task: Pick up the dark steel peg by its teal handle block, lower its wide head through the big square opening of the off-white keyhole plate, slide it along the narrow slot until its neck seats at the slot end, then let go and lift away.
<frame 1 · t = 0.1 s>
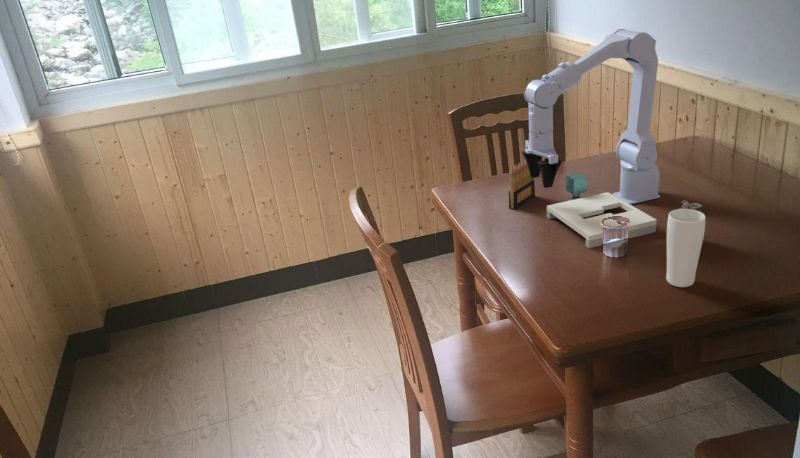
hand: (541, 182, 156), 10 cm above the table, tool pointing down, fingers open, 7 cm apart
peg: (576, 203, 166), on the table
keyhole plate: (598, 224, 154), on the table
ammunition clip: (522, 202, 171), on the table
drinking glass: (679, 282, 126), on the table
flask: (682, 245, 140), on the table
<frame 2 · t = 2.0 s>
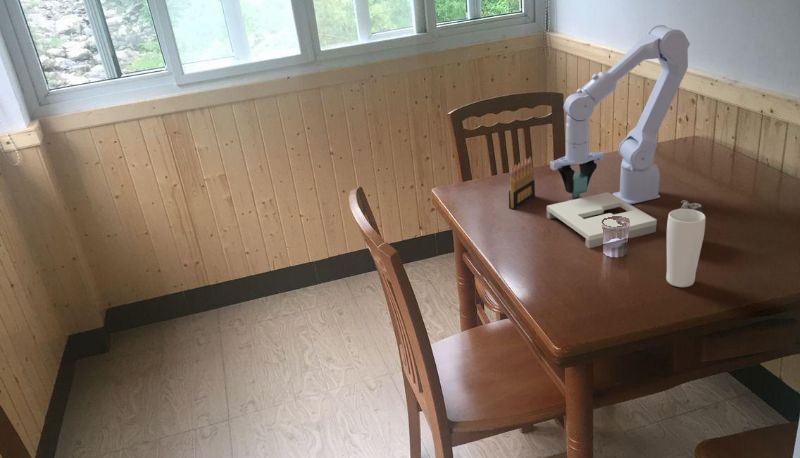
hand: (576, 189, 165), 4 cm above the table, tool pointing down, fingers closed on peg, 4 cm apart
peg: (576, 203, 166), on the table, touching gripper
everything else where it was.
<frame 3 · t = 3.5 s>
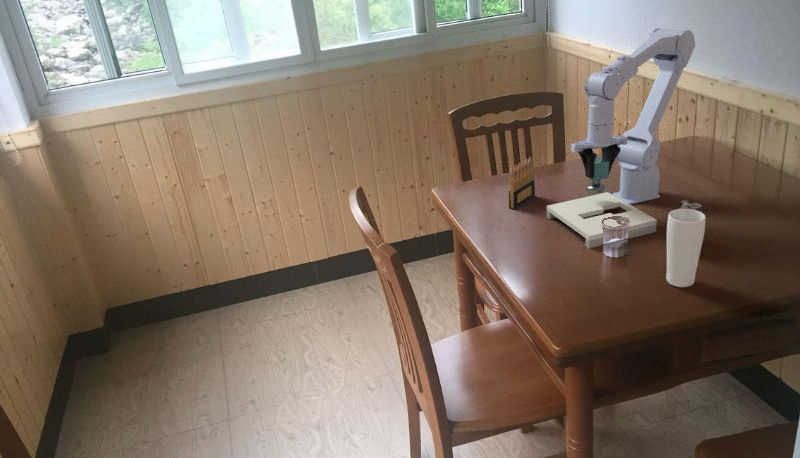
hand: (597, 175, 155), 10 cm above the table, tool pointing down, fingers closed on peg, 4 cm apart
peg: (595, 190, 157), point 6 cm above the table, touching gripper
everything else where it was.
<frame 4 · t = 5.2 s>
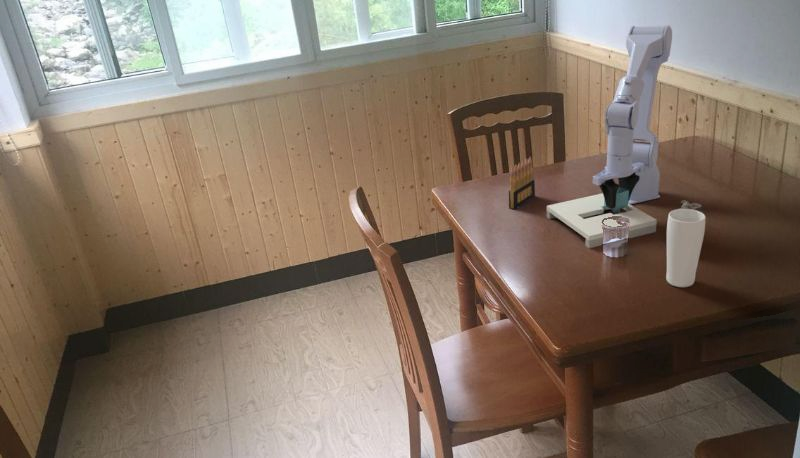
hand: (617, 204, 153), 4 cm above the table, tool pointing down, fingers closed on peg, 4 cm apart
peg: (615, 219, 155), on the table, touching gripper
everything else where it was.
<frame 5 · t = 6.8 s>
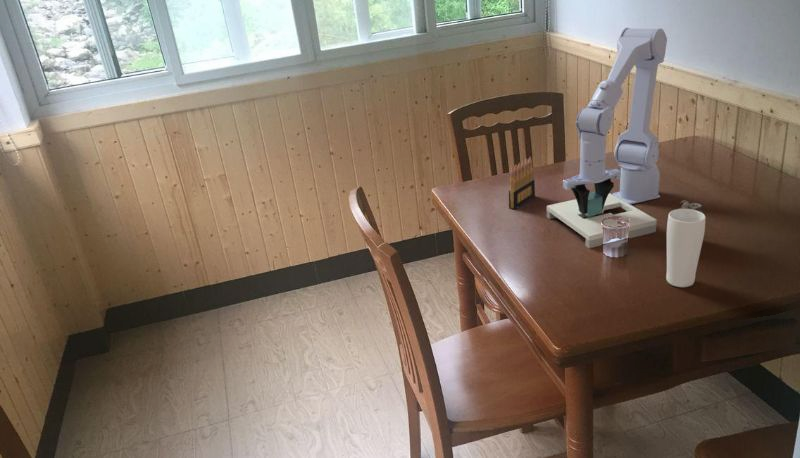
hand: (591, 210, 151), 4 cm above the table, tool pointing down, fingers closed on peg, 4 cm apart
peg: (589, 225, 153), on the table, touching gripper
everything else where it was.
when the fingers open (4 cm above the table, at t = 8.4 s): peg stays where it is, on the table.
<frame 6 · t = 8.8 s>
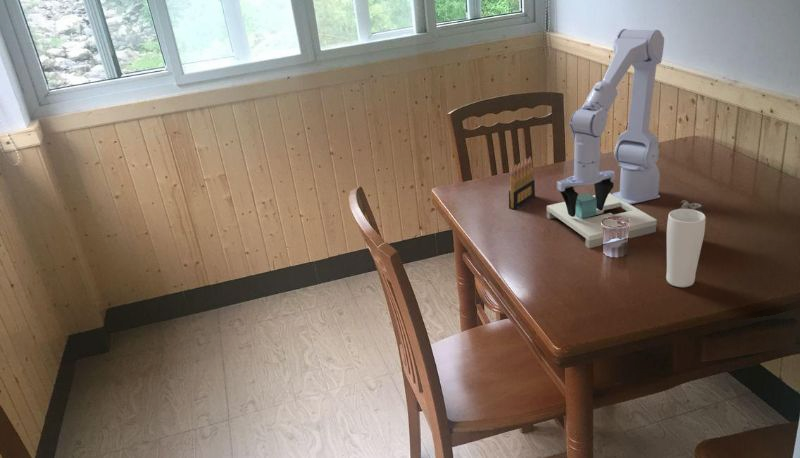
hand: (585, 212, 151), 4 cm above the table, tool pointing down, fingers open, 7 cm apart
peg: (584, 226, 153), on the table
everything else where it was.
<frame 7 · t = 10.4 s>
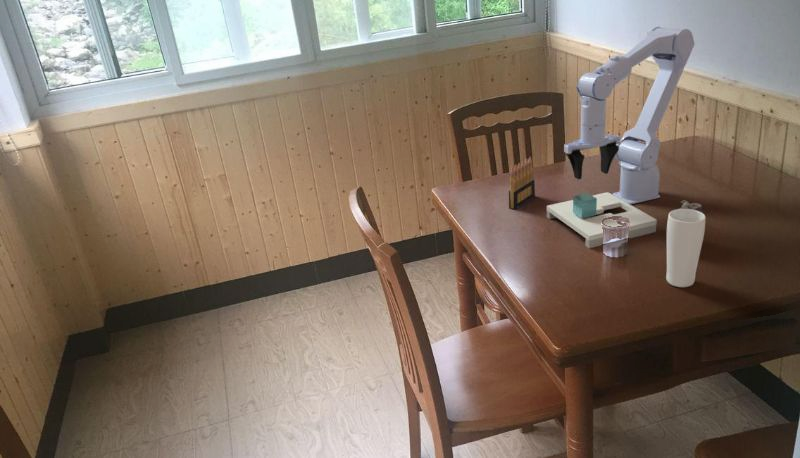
hand: (591, 175, 156), 10 cm above the table, tool pointing down, fingers open, 7 cm apart
nothing on the table moved.
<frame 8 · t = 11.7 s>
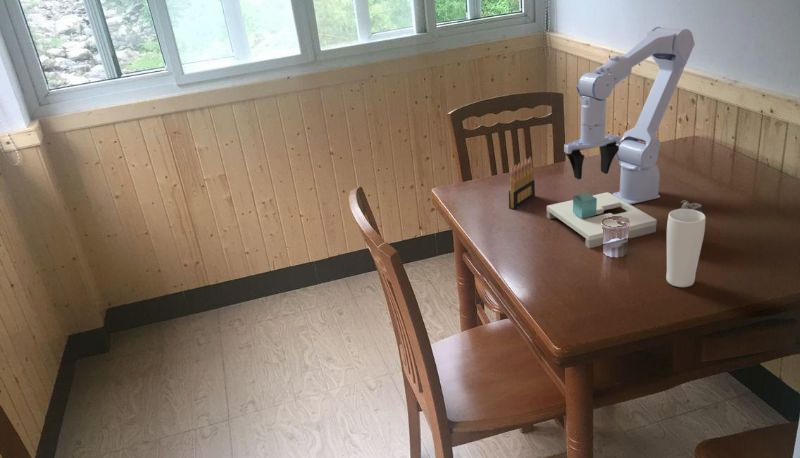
hand: (591, 175, 156), 10 cm above the table, tool pointing down, fingers open, 7 cm apart
nothing on the table moved.
at the end: peg 0.4 cm from the target spot on the keyhole plate, point 0.0 cm above the keyhole plate's base; peg tilted 0°; the gripper is holding nothing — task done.
